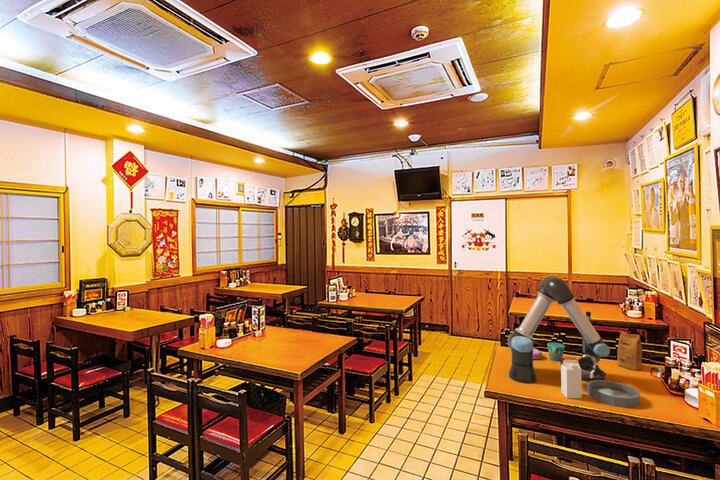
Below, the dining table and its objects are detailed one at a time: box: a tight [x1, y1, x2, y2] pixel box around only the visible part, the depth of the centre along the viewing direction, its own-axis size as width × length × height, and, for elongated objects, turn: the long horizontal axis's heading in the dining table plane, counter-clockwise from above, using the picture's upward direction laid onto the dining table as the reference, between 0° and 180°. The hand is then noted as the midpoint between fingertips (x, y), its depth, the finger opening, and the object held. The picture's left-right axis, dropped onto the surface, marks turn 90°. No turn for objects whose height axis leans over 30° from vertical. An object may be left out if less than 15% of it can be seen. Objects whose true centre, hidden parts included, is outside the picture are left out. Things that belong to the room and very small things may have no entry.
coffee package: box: [616, 331, 643, 371], centre depth 228 cm, size 10×12×22 cm
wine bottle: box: [581, 311, 592, 354], centre depth 254 cm, size 8×8×30 cm
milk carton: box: [560, 359, 582, 399], centre depth 189 cm, size 7×7×19 cm
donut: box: [533, 348, 543, 360], centre depth 250 cm, size 14×13×5 cm
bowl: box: [586, 379, 641, 408], centre depth 186 cm, size 22×22×4 cm
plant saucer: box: [581, 368, 607, 382], centre depth 215 cm, size 21×21×3 cm
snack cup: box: [547, 342, 566, 362], centre depth 244 cm, size 16×11×10 cm
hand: (576, 372), depth 194 cm, fingers open, 13 cm apart
